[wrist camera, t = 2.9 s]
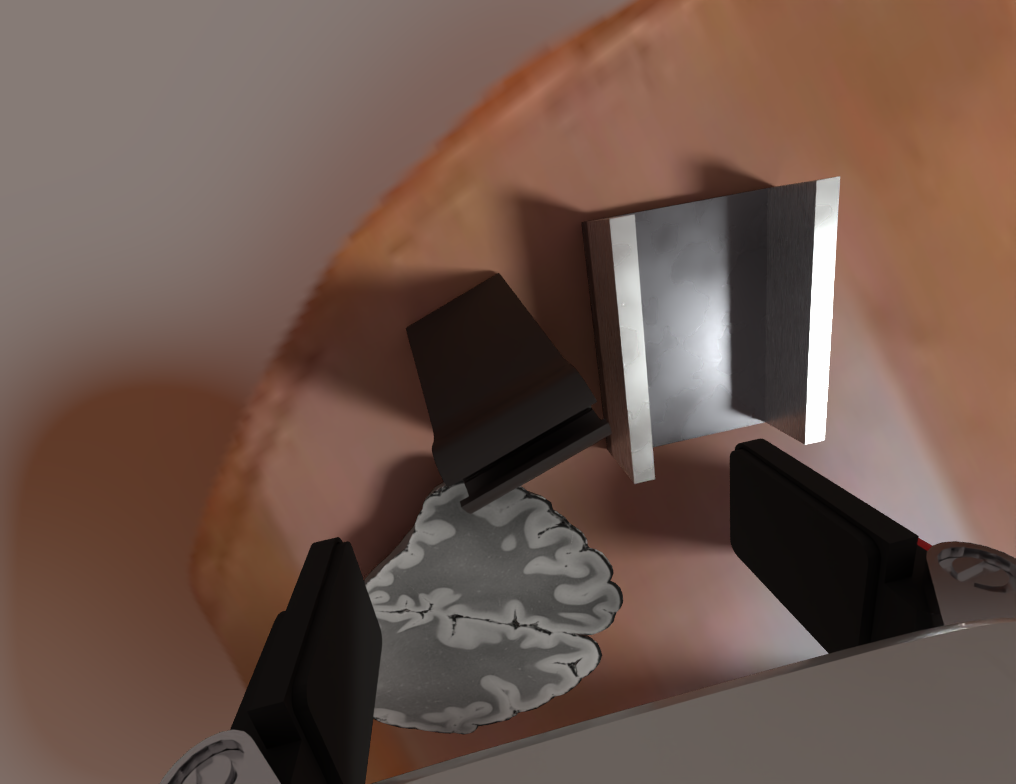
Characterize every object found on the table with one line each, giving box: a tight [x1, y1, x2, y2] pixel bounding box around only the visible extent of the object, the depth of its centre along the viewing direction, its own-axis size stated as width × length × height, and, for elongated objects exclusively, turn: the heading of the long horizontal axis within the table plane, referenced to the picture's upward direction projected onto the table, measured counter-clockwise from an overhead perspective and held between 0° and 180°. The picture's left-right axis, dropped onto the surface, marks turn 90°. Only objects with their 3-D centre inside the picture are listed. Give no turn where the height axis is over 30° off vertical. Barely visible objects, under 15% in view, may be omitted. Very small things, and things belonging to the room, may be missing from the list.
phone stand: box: [406, 273, 612, 514], centre depth 22 cm, size 9×6×12 cm, turn 29°
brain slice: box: [364, 479, 623, 734], centre depth 31 cm, size 20×17×3 cm
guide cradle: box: [582, 176, 840, 484], centre depth 26 cm, size 11×14×4 cm
